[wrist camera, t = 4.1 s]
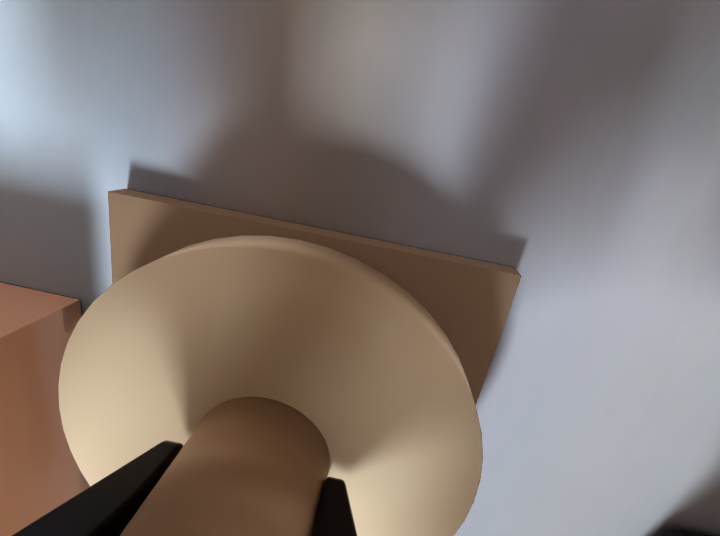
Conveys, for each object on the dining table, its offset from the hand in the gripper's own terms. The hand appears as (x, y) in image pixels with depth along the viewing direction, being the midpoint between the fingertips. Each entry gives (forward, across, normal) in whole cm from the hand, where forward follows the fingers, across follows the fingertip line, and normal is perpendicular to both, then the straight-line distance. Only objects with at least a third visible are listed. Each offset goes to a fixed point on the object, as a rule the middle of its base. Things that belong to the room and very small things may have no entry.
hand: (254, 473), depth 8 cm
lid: (+2, 0, 0) cm, 2 cm away
